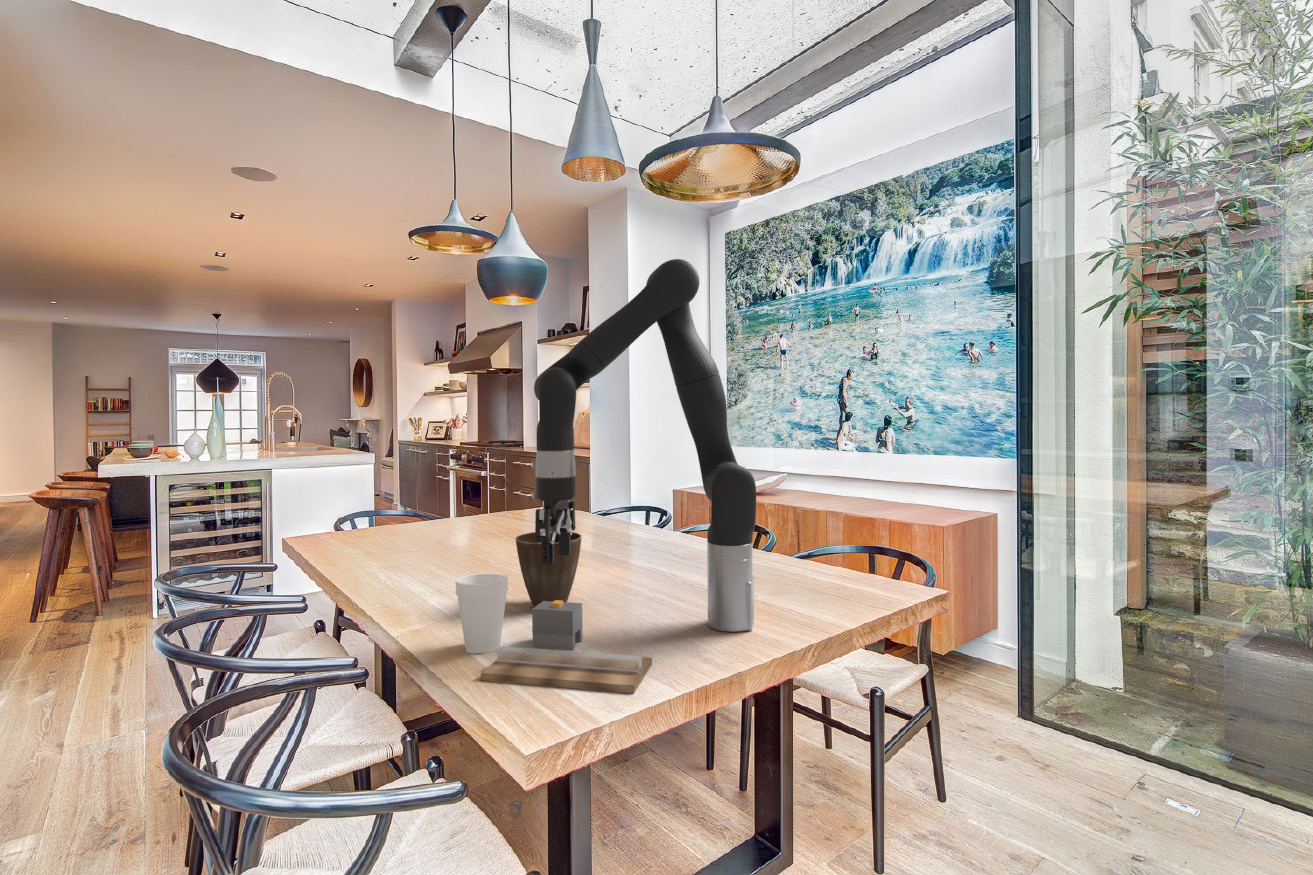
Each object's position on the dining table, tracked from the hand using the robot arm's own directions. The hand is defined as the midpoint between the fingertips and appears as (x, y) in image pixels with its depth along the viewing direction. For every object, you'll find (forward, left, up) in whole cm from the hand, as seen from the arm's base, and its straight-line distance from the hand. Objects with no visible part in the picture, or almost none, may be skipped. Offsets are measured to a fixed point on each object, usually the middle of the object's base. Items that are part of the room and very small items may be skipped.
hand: (556, 559), depth 123 cm
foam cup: (+13, +5, -16) cm, 21 cm away
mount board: (-7, +13, -16) cm, 22 cm away
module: (0, 0, -16) cm, 16 cm away
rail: (-7, +13, -15) cm, 21 cm away
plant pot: (+11, -23, -16) cm, 30 cm away
